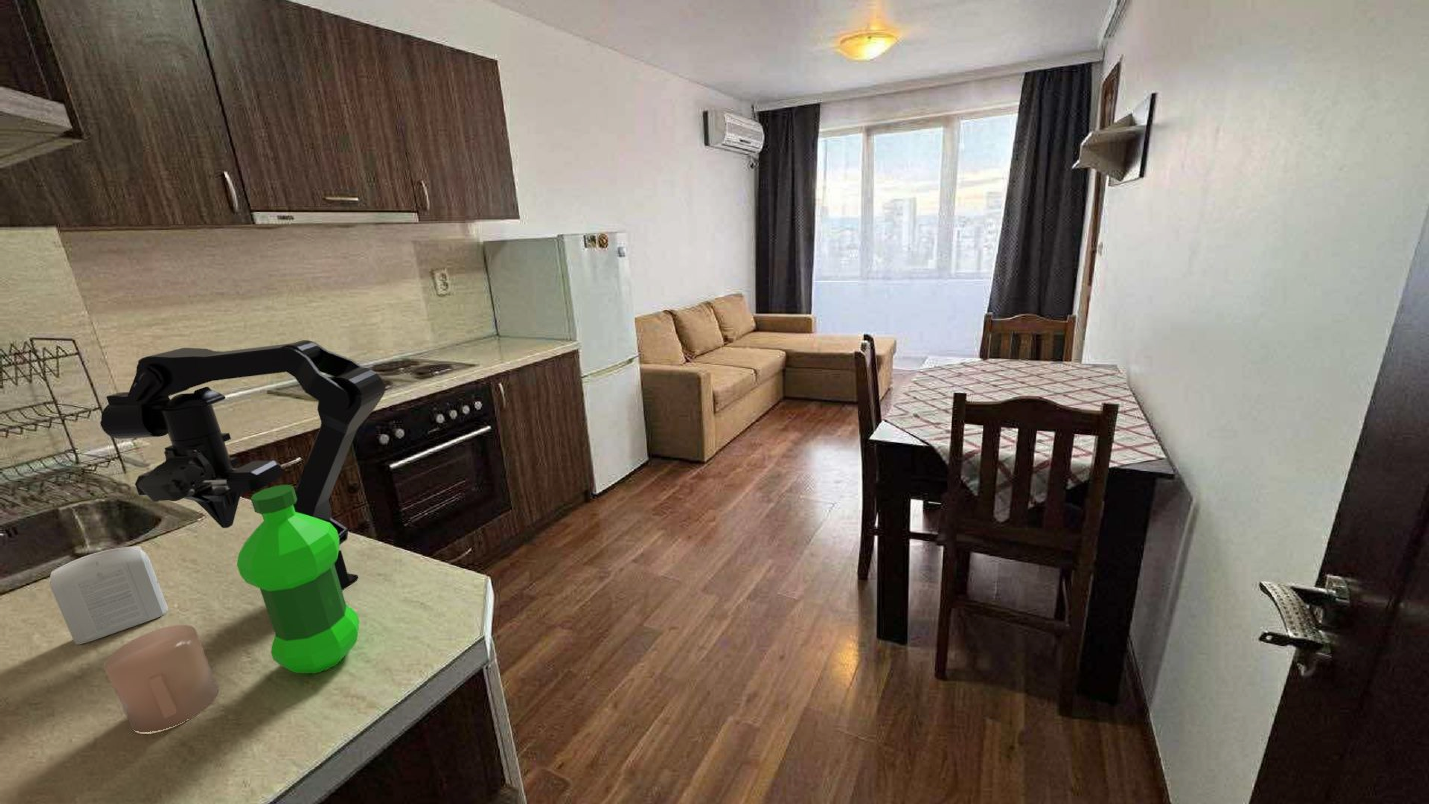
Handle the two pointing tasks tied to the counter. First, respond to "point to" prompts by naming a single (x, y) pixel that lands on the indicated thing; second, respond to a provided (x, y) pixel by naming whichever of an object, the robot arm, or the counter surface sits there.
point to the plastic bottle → (298, 583)
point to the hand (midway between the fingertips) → (227, 526)
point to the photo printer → (107, 593)
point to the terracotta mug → (162, 678)
